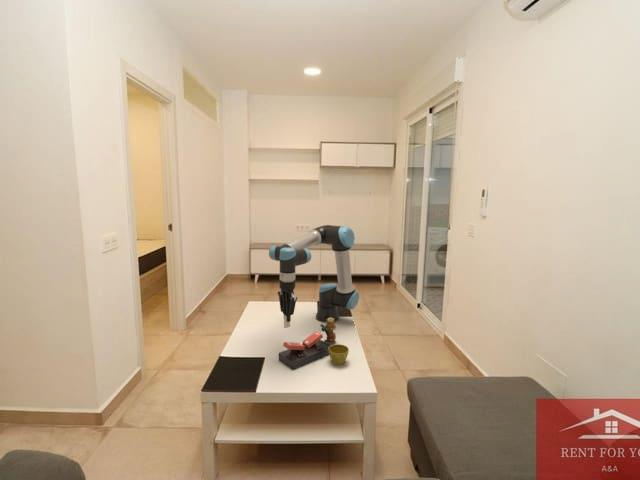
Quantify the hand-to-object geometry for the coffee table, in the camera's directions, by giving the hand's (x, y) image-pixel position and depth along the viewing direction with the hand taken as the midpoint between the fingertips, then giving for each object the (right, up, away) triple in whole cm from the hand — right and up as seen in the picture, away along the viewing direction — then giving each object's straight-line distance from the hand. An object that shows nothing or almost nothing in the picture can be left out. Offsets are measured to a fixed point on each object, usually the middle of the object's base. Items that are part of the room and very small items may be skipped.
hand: (287, 327), depth 167 cm
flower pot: (+25, -19, +4) cm, 32 cm away
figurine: (+21, -15, +25) cm, 36 cm away
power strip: (+9, -17, +8) cm, 21 cm away
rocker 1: (+3, -11, +5) cm, 12 cm away
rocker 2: (+12, -10, +13) cm, 20 cm away
